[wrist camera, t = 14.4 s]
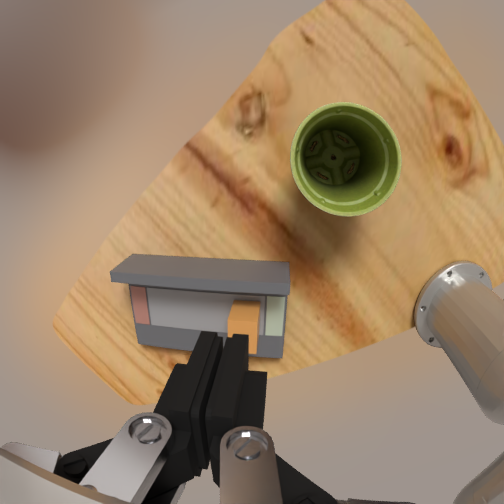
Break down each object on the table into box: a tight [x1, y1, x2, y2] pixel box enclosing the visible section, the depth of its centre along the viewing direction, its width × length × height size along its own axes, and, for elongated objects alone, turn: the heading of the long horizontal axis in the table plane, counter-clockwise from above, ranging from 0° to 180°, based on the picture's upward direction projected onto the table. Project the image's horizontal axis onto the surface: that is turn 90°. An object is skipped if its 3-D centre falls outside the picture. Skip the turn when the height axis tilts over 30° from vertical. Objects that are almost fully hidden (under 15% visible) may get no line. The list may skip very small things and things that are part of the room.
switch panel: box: [110, 254, 290, 358], centre depth 36 cm, size 19×12×6 cm, turn 89°
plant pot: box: [290, 102, 402, 217], centre depth 28 cm, size 9×9×9 cm
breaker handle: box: [228, 300, 260, 354], centre depth 34 cm, size 3×4×4 cm
